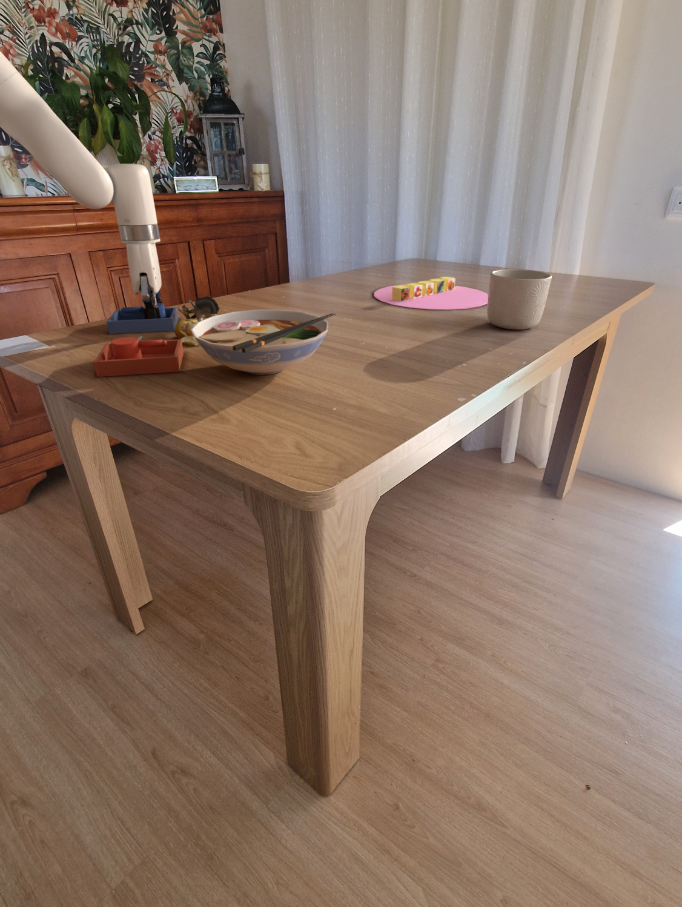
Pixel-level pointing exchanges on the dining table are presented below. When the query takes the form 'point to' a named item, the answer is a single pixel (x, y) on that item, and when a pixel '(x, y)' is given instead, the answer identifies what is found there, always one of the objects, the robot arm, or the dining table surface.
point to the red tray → (141, 360)
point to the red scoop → (132, 347)
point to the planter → (517, 298)
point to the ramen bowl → (261, 339)
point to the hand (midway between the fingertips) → (156, 322)
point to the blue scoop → (140, 309)
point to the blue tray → (141, 322)
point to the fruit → (186, 331)
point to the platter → (432, 295)
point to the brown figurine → (201, 308)
